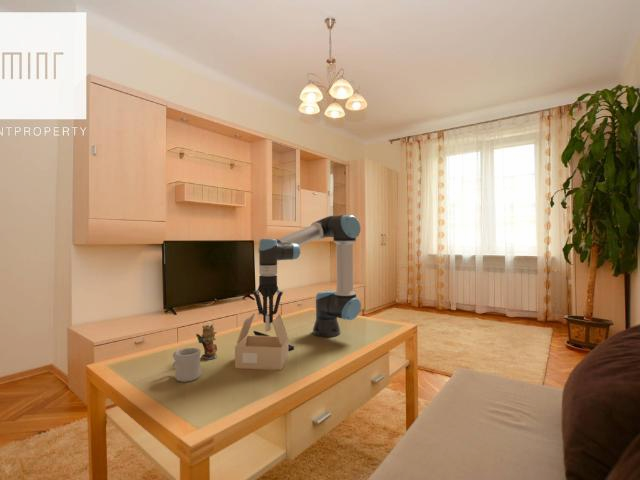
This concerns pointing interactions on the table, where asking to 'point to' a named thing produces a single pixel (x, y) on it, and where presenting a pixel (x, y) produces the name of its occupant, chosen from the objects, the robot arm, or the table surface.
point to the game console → (268, 335)
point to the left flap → (245, 328)
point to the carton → (261, 353)
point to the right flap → (280, 329)
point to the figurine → (208, 342)
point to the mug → (187, 364)
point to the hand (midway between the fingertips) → (268, 330)
